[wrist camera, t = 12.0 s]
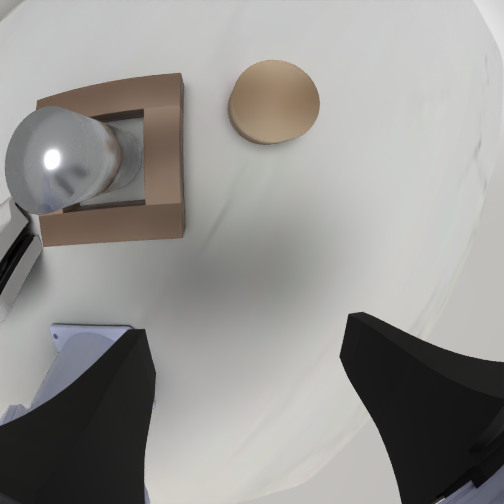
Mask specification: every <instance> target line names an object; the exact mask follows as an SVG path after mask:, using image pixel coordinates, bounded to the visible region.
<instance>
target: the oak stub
mask: <svg viewBox="0 0 504 504" xmlns="http://www.w3.org/2000/svg"><path fill="white" fill-rule="evenodd" d="M319 106H320V101H319V95H318V91H317V88H316V86H315V84H314V83H313V81H312V80H311V78H310V77H309V76H308V75H307V74H306V73H305V72H304V71H303V70H301V69H300V68H299V67H297V66H295V65H293V64H291V63H288V62H285V61H280V60H266V61H262V62H259V63H256V64H254V65H252V66H250V67H249V68H247V69H246V70H245V71H244V72H243V73H242V74H241V76H240V77H239V79H238V80H237V82H236V85H235V87H234V89H233V92H232V94H231V97H230V99H229V103H228V115H229V119H230V122H231V124H232V126H233V127H234V129H235V130H236V131H237V132H238V134H240V135H241V136H242V137H243V138H245V139H246V140H248V141H250V142H253V143H257V144H263V145H269V144H275V143H279V142H283V141H287V140H291V139H294V138H297V137H299V136H301V135H303V134H304V133H305V132H307V131H308V130H309V129H310V128H311V127H312V125H313V124H314V122H315V121H316V119H317V116H318V113H319Z"/></svg>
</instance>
